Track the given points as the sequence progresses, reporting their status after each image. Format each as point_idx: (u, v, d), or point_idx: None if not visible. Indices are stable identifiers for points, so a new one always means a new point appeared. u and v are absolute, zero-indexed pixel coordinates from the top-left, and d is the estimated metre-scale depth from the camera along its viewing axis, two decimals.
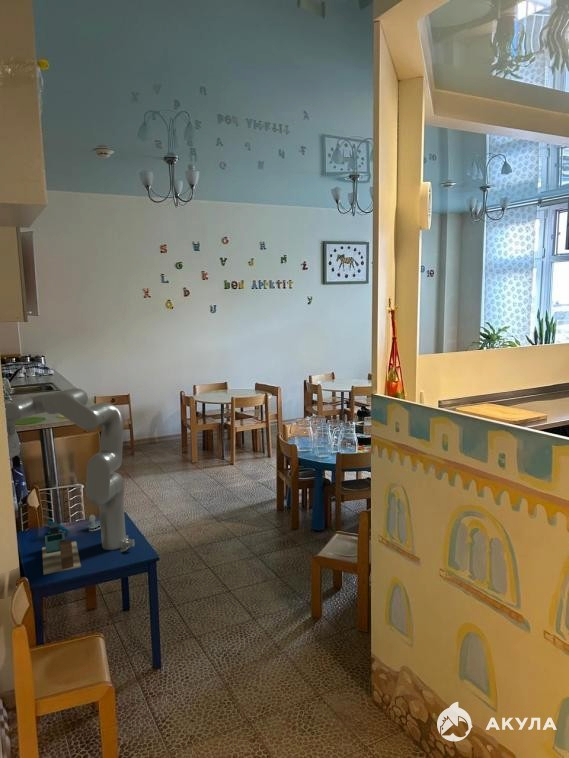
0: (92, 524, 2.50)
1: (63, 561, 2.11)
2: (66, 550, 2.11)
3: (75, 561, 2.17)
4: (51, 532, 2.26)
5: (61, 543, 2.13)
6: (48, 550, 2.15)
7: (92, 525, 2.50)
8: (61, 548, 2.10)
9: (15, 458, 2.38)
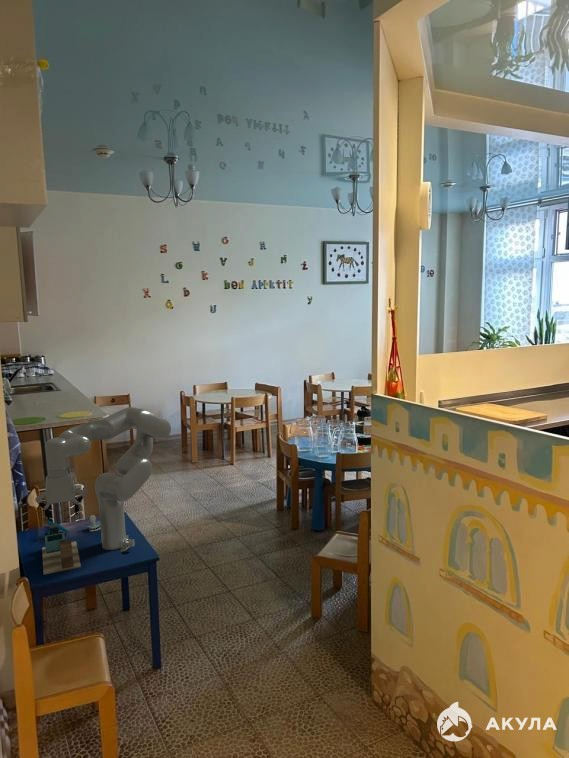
0: (93, 524, 2.49)
1: (63, 561, 2.11)
2: (66, 550, 2.11)
3: (75, 561, 2.17)
4: (51, 532, 2.26)
5: (61, 543, 2.13)
6: (48, 550, 2.15)
7: (93, 525, 2.49)
8: (61, 548, 2.10)
9: (48, 508, 2.08)
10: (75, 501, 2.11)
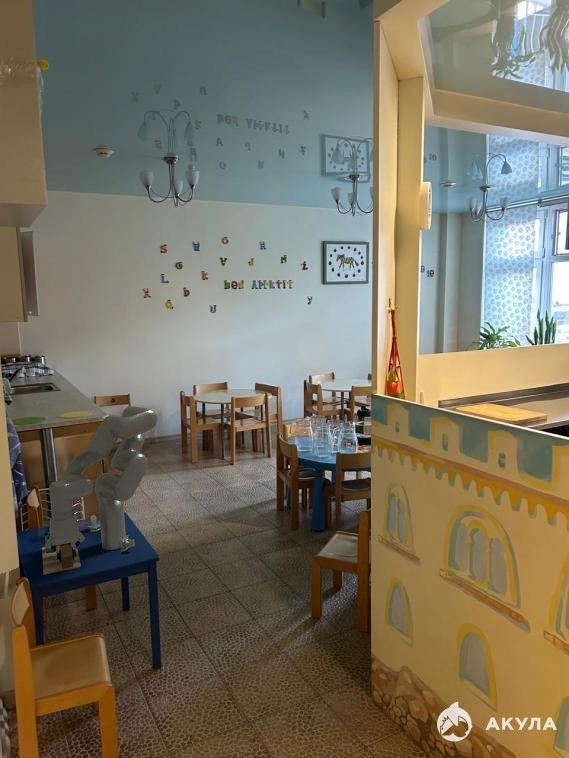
0: (93, 524, 2.49)
1: (63, 561, 2.11)
2: (66, 550, 2.11)
3: (75, 561, 2.17)
4: None
5: None
6: (48, 550, 2.15)
7: (93, 525, 2.49)
8: (61, 548, 2.10)
9: None
10: (72, 546, 2.13)
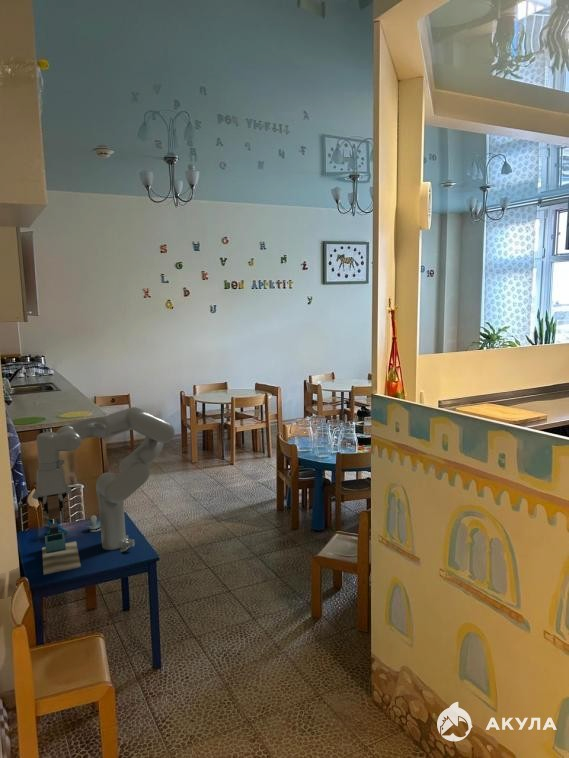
0: (94, 525, 2.49)
1: (50, 512, 2.13)
2: (53, 501, 2.13)
3: (75, 561, 2.17)
4: (51, 532, 2.26)
5: None
6: (48, 550, 2.15)
7: (94, 526, 2.49)
8: (48, 499, 2.12)
9: None
10: (59, 498, 2.15)
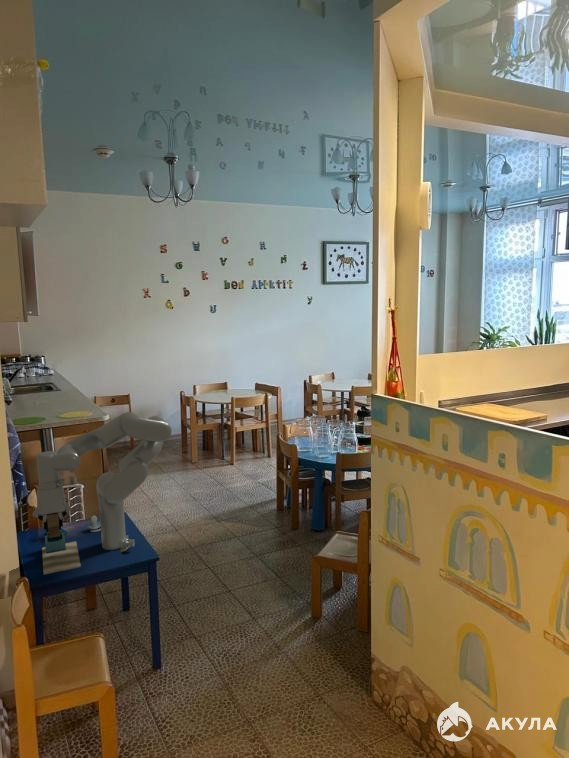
0: (94, 525, 2.49)
1: (50, 530, 2.16)
2: (53, 520, 2.16)
3: (75, 561, 2.17)
4: None
5: None
6: (48, 550, 2.15)
7: (94, 526, 2.49)
8: (48, 517, 2.15)
9: None
10: (59, 516, 2.17)
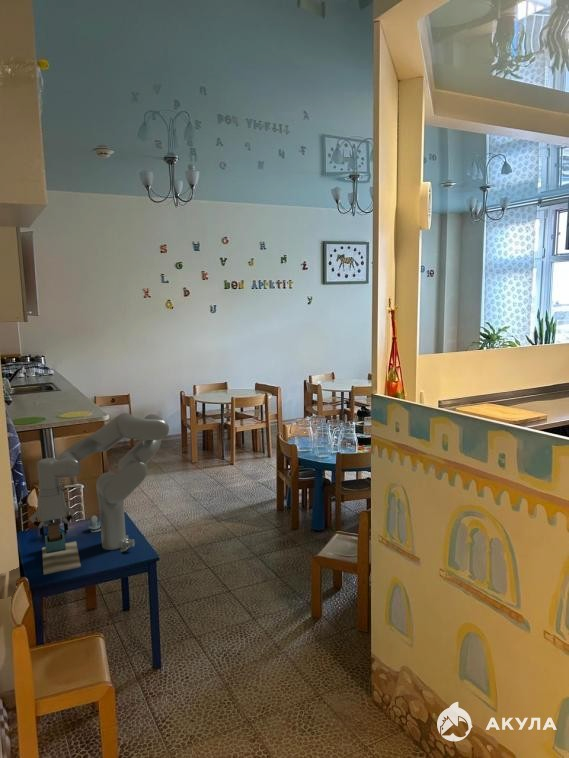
0: (94, 525, 2.49)
1: None
2: (54, 531, 2.17)
3: (75, 561, 2.17)
4: None
5: (49, 524, 2.18)
6: (48, 550, 2.15)
7: (94, 526, 2.49)
8: (49, 529, 2.16)
9: None
10: (64, 520, 2.18)
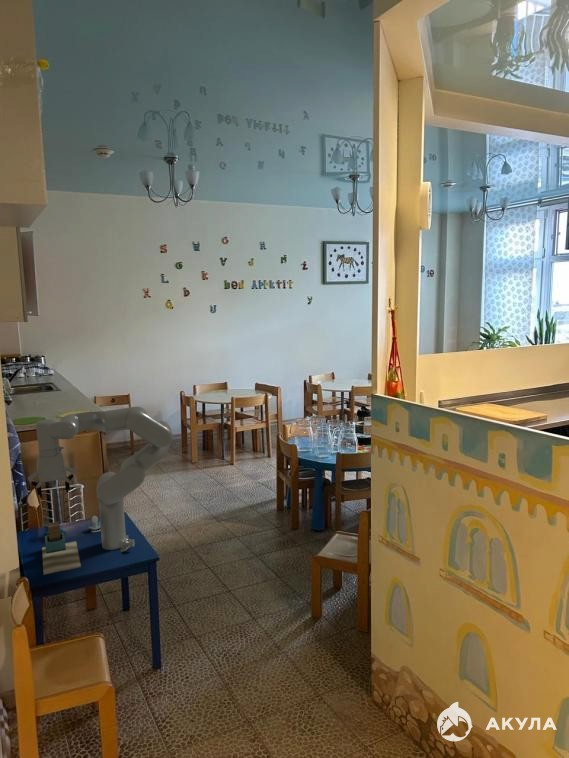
0: (95, 525, 2.48)
1: None
2: (54, 531, 2.17)
3: (75, 561, 2.17)
4: None
5: (49, 524, 2.18)
6: (48, 550, 2.15)
7: (95, 526, 2.48)
8: (49, 529, 2.16)
9: (40, 486, 2.19)
10: (66, 479, 2.21)
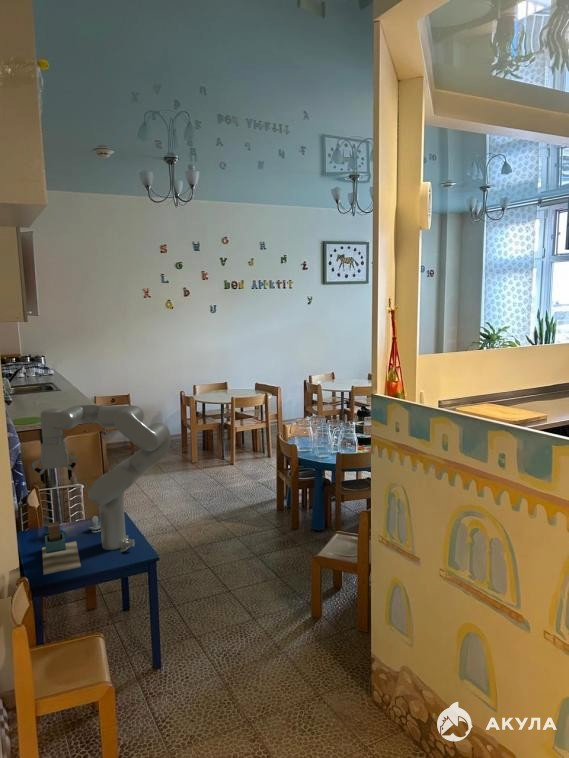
0: (95, 525, 2.48)
1: None
2: (54, 531, 2.17)
3: (75, 561, 2.17)
4: None
5: (49, 524, 2.18)
6: (48, 550, 2.15)
7: (95, 526, 2.48)
8: (49, 529, 2.16)
9: (43, 473, 2.26)
10: (68, 467, 2.28)
